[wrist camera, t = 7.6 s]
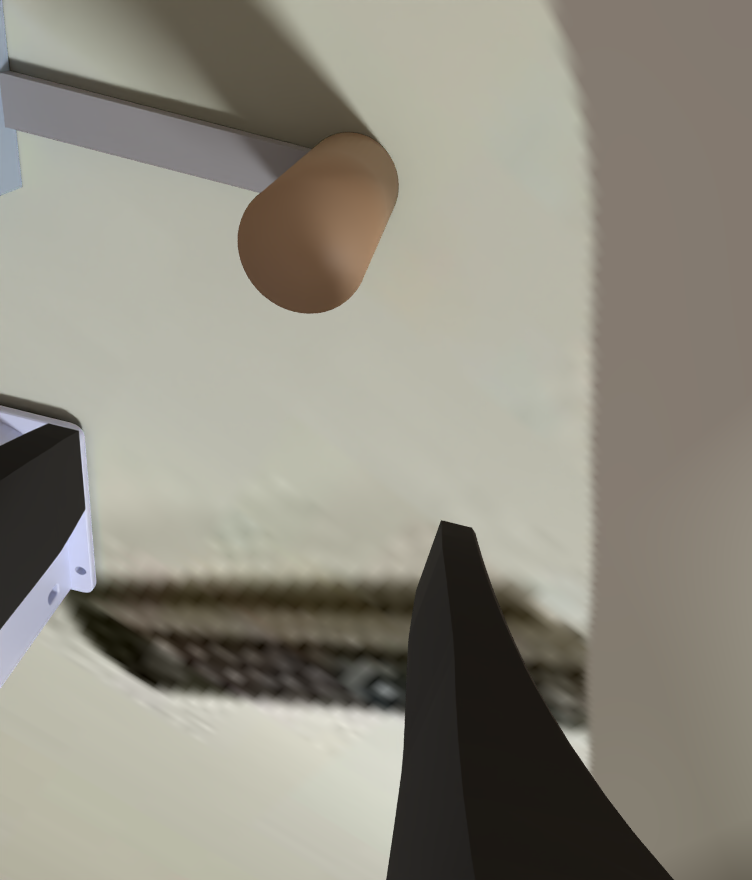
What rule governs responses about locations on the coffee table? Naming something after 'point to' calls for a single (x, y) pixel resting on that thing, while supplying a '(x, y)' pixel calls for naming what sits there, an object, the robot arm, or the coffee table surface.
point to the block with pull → (230, 181)
